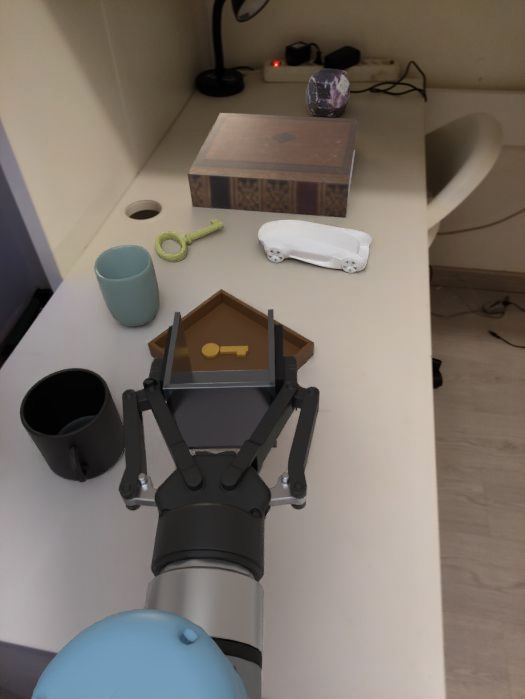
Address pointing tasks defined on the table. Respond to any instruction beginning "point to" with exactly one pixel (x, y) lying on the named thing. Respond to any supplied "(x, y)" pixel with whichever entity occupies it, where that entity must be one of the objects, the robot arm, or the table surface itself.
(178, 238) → the key
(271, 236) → the toy car
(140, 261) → the cup
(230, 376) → the grey open-sided box
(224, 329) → the tray
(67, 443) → the mug
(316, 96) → the mineral specimen
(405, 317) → the table surface
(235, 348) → the brass key
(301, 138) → the book
